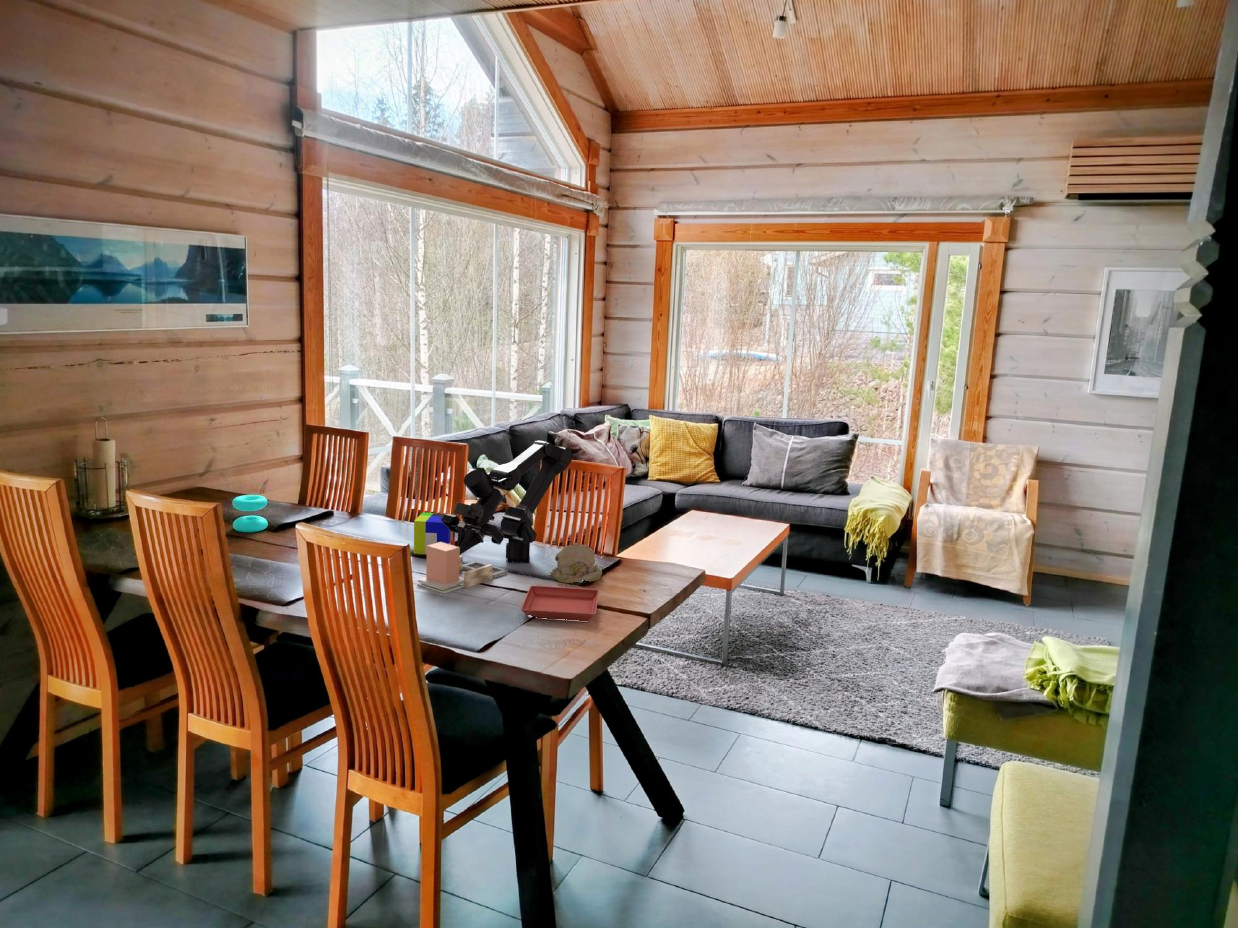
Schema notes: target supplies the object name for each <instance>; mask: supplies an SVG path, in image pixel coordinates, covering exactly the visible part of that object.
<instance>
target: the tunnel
mask: <svg viewBox="0 0 1238 928" xmlns="http://www.w3.org/2000/svg"><path fill="white" fill-rule="evenodd" d="M463 558H464V557H463V555H460V561H459V572H460V571H462V566H463V565H464V563H463ZM493 566H494V565H493V564H491V563H490V564H488V565H486V566H483V567H480V568H477V569H474V570H470V571H465V572H464V573H463V578H464V583H463V585H464V587H463V588H466V589H468V588H471V587H473V586H476V585H479V584H482V583H484V582H488V581H491V580H493V579H492V575H493Z"/></svg>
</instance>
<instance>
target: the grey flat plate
mask: <svg viewBox="0 0 1238 928" xmlns="http://www.w3.org/2000/svg"><path fill="white" fill-rule="evenodd" d="M486 565H489V564H487V563H484V562H480V561H478V560H474V561H471V562H468V563H465V564H464V563H463V566H462V570H463V571H465V572H467V571H470V570H474V569H477V568H480V567H483V566H486ZM462 570H461V571H462ZM507 574H508V569H505V568H502V567H498V566H494V565H493V575H492V579H491V580H493V579H496V578H499V577H501V576H504V575H507Z"/></svg>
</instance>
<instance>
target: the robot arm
mask: <svg viewBox="0 0 1238 928" xmlns="http://www.w3.org/2000/svg"><path fill="white" fill-rule="evenodd" d="M540 461H541V467H540V469H539V470H538V472H537V474H536V475H535V477H534V478H533V480H532V482H531V483H530V486H528V489H527V490H526V492H525V493H524V495H523V497H522V498H521V500H520V502H519V503H518V504H517V505H516V506H511V505H509V506H508V507H507V509H506V511H505V513H504V514H503V515H502V517H501V518H502V519H501V521H500V529H499V527H498V526H496V525H493V524H490V521H495V518H496V517H495V515H494V514H495V512H496V511H497V510H498V507H500V505H501V504H504V505H506V504H507V503H508V501H507V498H506V497H507V496H506V493H502V492H501V491H507V492H511V491H514V490H515V488H516V487H517V486H518V485H519V484H520V482H521V479H522V478H521V477H522V476H523V475H524V474H526V473H527V472H528V471H529V470H530V469H531V468H533V467H534V466H535V465H536V464H538V462H540ZM572 461H573V453H572V451H571V449H570V448H569V447H565V446H559V445H556V444H552V443H551V442H549V441H544V440H535V441H534V442H533V443H532V445H531V446H529V447H528V448H527V449H526V450H524V451H523V452H521V453H520V454H519V455H518V456H516V457H515V458H514V459H513V460H511V461H509V462H508V463H502V464H500V465H498V466H496V467H494V468H492V469H491V470H490V471H489V472H487V471H486V469H485V467H482V466H477V467H476V468H475V469H473V470H471V471H469V472H467V474H465V476H464V477H463V484H464V486H466V488H467V489H468V490H469V492H470V493H471V494H472V495H473V497H475V498H477V500H476V502H474V503H473V502H472V503H470V504H466V503H463V502H458V501H457V502H456V504H455V506H454V510H453V513H444V514H445V515H444V517H443V518H442V520H441V521H442V522H443V523H444V524H445V526H446V527H447V528H448V529H449V530H450V531H452V532H455V534H457V540H456V543H455V546H457V547H460V556H462V554H464V553H466V552H467V551H469V550H471V549H472V548H473V547H476V546H477V545H479V544H483V543H484V542H485V540H484V538H485V537H490V540H491V543H492V544H496V545H499V546H500V545H501V544H502V543H503V541H504V539H507V540H508V541H507V542H506V543H505V559H506V562H507V563H512V562H519V563H518V564H521V563H520V562H525V564H529V562H530V563H531V561H530V559H531V556H530V553H531V552H530V551H531V550H530V548H531V544H532V543H534V542H535V541H536V540H537V535H538V534H537V532H536V531H535V530H534V528H533V525H534V515H533V514H534V513H535V511H536V509H537V508H538V506H539V504H540V503H541V501H542V499H543V498H544V497H545V495H546V493H547V491H548V489H549V488H550V486H551V485H552V483H553V481H554V479H555V478H556V476H557V475H559V474H561V473H563V472H564V471H566V469H568V467H569V466H570V465H571V463H572ZM500 490H501V491H500ZM452 514H454V515H452ZM458 515H460V518H461V519H462V520H461V519H460V518H459V516H458ZM526 562H527V563H526Z"/></svg>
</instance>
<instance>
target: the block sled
mask: <svg viewBox="0 0 1238 928" xmlns="http://www.w3.org/2000/svg"><path fill="white" fill-rule="evenodd" d="M460 556H461V555H460V547H457V546H456V545H455V546H454V545H450V544H447V543H443V542H438V543H435V544H431V545H427V554H426V569H425V570H426V571H425V572H426V573H425V575H426V576H424V577H421V578H418V579H417V583H422V584H425V585H428V586H431V587H434V588H437V589H440V590H445V589H448V588H451V587H454V586H457V585H464V577H461V576H460V571H459V561H460Z"/></svg>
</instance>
